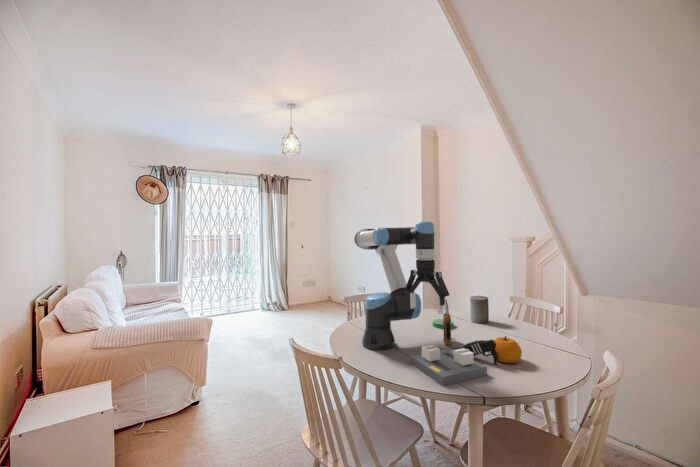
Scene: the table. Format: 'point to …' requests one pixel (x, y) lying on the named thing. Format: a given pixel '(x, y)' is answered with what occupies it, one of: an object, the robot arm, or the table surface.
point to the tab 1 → (431, 353)
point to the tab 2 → (463, 356)
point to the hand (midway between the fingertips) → (426, 310)
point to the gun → (483, 348)
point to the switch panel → (448, 368)
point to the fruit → (507, 350)
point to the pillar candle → (479, 309)
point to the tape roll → (441, 323)
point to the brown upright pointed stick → (448, 329)
